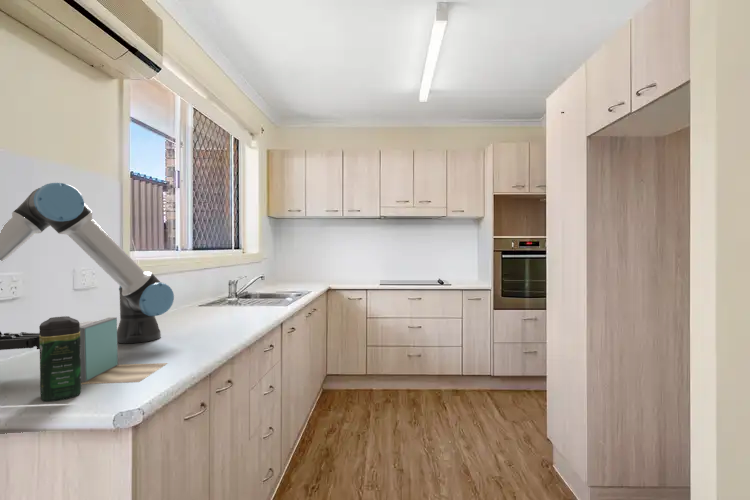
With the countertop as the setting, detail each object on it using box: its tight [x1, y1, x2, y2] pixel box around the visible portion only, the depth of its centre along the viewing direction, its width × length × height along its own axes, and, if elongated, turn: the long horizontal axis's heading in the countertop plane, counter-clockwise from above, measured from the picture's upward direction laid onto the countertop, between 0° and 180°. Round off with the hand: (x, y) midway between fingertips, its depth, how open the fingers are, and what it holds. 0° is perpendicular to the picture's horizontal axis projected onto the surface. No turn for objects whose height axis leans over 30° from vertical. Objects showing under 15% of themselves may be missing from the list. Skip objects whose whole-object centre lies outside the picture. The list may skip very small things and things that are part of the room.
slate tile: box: [80, 317, 119, 383], centre depth 121 cm, size 16×2×14 cm, turn 3°
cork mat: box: [81, 362, 169, 385], centre depth 122 cm, size 18×18×1 cm
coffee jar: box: [38, 315, 82, 402], centre depth 104 cm, size 10×8×19 cm
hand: (68, 339), depth 121 cm, fingers closed
